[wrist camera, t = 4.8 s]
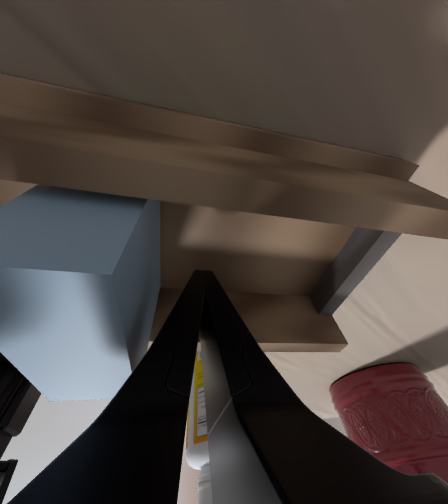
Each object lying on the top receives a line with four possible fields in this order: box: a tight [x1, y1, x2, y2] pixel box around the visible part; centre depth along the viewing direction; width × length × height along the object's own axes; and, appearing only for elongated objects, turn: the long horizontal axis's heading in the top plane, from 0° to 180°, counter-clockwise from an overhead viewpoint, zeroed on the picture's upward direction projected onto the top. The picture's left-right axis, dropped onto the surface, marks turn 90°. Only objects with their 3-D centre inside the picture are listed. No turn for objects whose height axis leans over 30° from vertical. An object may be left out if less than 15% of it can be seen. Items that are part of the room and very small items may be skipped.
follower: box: [0, 184, 161, 401], centre depth 8 cm, size 3×7×6 cm, turn 169°
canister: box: [330, 363, 448, 483], centre depth 24 cm, size 13×13×18 cm
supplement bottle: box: [186, 351, 213, 504], centre depth 16 cm, size 6×6×10 cm
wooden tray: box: [0, 73, 448, 352], centre depth 9 cm, size 28×11×5 cm, turn 79°
